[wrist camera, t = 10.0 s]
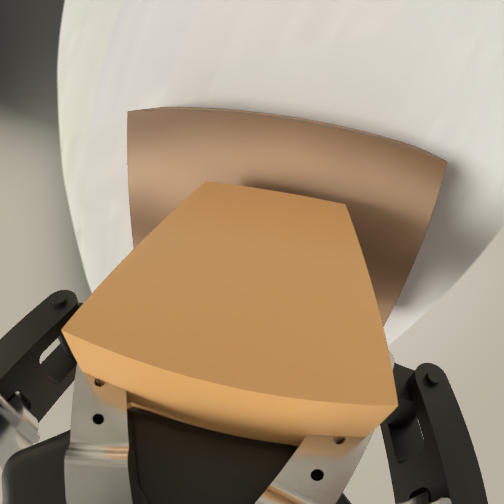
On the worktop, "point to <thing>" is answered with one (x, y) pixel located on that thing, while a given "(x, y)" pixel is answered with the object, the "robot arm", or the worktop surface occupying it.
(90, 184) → the worktop surface
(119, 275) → the peach foam cube
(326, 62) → the worktop surface
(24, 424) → the robot arm
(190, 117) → the brown slab
